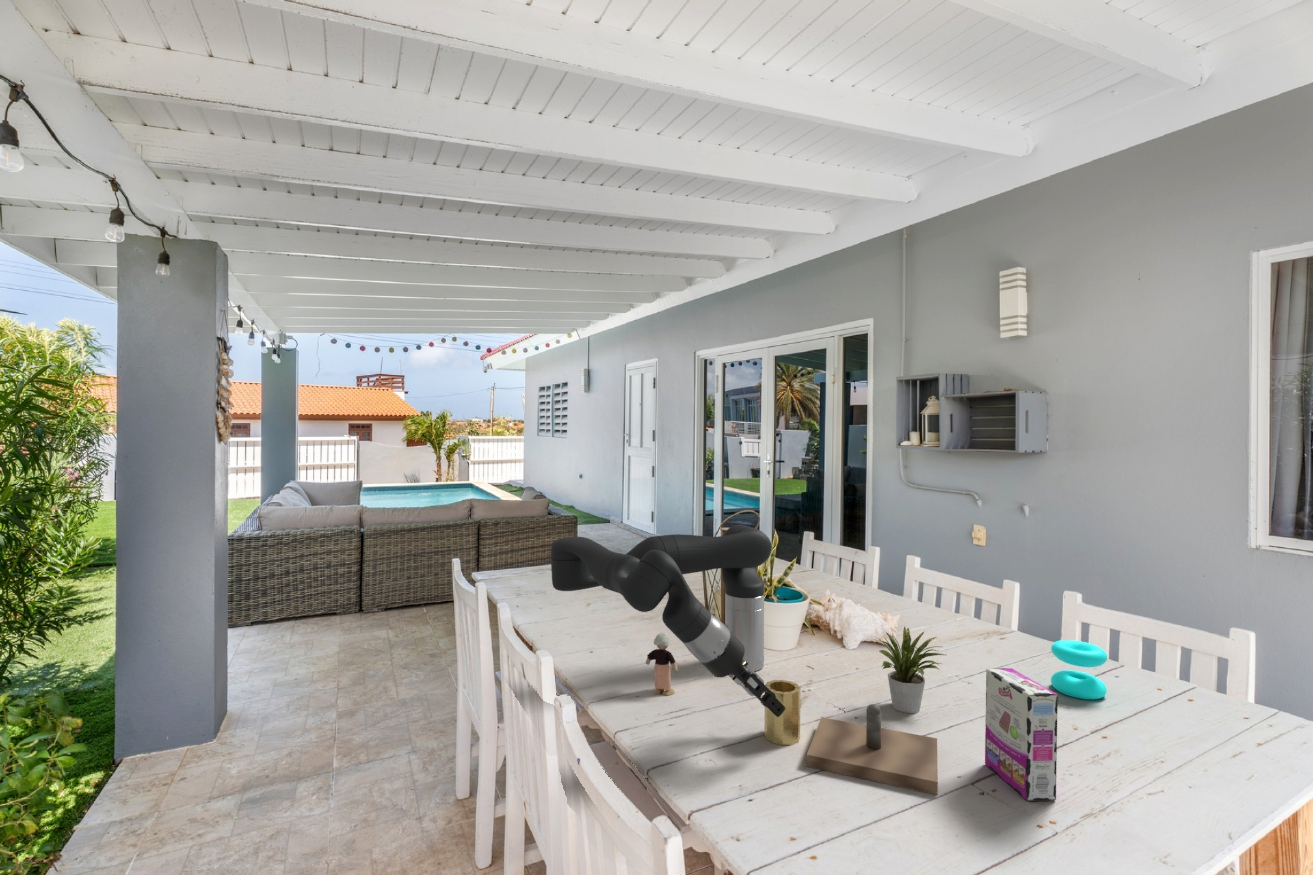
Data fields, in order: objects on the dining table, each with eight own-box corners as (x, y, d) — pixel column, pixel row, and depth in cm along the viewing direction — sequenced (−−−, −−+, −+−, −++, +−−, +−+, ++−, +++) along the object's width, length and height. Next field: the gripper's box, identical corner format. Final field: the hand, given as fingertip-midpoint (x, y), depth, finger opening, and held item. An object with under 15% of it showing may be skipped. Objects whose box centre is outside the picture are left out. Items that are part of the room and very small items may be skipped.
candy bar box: (1058, 801, 95) (1060, 694, 95) (1027, 802, 95) (1029, 695, 95) (1011, 762, 107) (1012, 666, 106) (983, 763, 106) (984, 667, 106)
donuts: (1110, 645, 136) (1103, 657, 128) (1109, 691, 136) (1102, 706, 128) (1056, 634, 142) (1046, 645, 135) (1056, 678, 142) (1046, 692, 135)
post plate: (806, 766, 105) (807, 711, 105) (821, 727, 119) (821, 679, 119) (937, 794, 97) (938, 735, 97) (937, 749, 111) (937, 697, 110)
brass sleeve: (761, 740, 114) (761, 690, 113) (769, 725, 119) (769, 677, 119) (795, 747, 111) (796, 696, 111) (802, 732, 117) (802, 683, 117)
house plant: (907, 732, 117) (907, 645, 117) (852, 703, 129) (852, 624, 129) (958, 716, 123) (958, 633, 123) (901, 690, 136) (901, 615, 136)
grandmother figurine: (681, 690, 135) (681, 632, 135) (676, 697, 132) (676, 637, 131) (647, 685, 138) (648, 628, 138) (641, 692, 134) (642, 633, 134)
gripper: (685, 645, 116) (740, 701, 120) (712, 675, 103) (774, 736, 106) (712, 615, 118) (766, 671, 121) (743, 640, 104) (803, 702, 107)
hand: (770, 701), depth 114 cm, fingers open, 8 cm apart
